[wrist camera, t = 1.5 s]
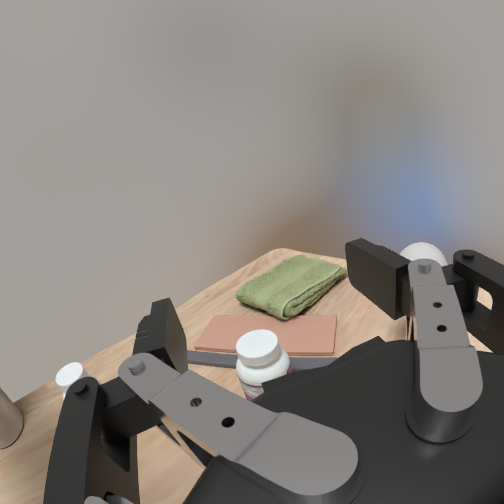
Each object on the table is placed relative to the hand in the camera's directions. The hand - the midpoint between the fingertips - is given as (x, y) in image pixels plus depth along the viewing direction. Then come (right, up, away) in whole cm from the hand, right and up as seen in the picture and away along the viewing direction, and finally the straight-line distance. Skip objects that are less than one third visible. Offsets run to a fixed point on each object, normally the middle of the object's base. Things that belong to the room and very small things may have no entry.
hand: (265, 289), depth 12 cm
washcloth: (+7, -5, +39) cm, 40 cm away
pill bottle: (+2, -16, +17) cm, 23 cm away
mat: (+1, -11, +28) cm, 30 cm away
